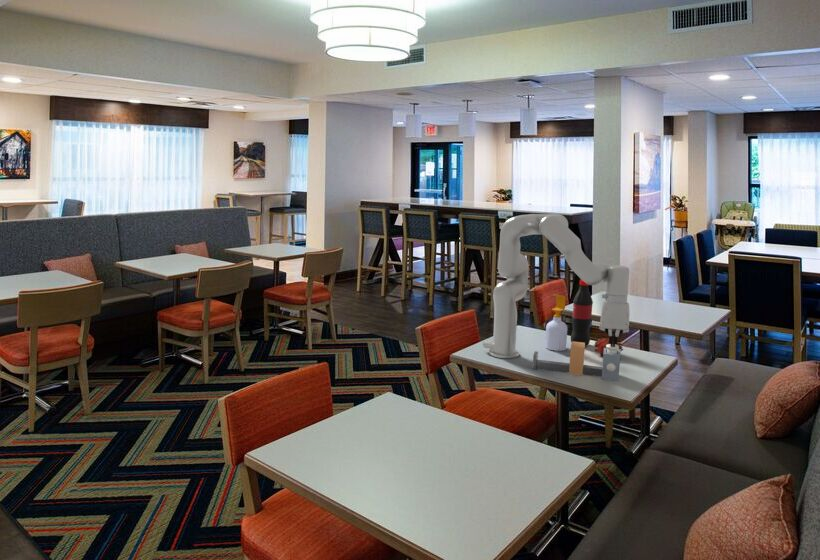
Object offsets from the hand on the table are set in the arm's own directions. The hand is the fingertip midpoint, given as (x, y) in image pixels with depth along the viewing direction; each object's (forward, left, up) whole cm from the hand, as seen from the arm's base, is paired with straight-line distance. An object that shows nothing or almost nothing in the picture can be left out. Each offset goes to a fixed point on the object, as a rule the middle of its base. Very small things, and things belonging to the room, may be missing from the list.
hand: (612, 345), depth 225 cm
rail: (-16, 0, -12) cm, 20 cm away
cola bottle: (-13, +39, -12) cm, 43 cm away
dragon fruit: (-1, +27, -13) cm, 30 cm away
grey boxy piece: (0, 0, -12) cm, 12 cm away
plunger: (0, 0, -5) cm, 5 cm away
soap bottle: (-23, +30, -12) cm, 40 cm away
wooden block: (-13, 0, -12) cm, 18 cm away
